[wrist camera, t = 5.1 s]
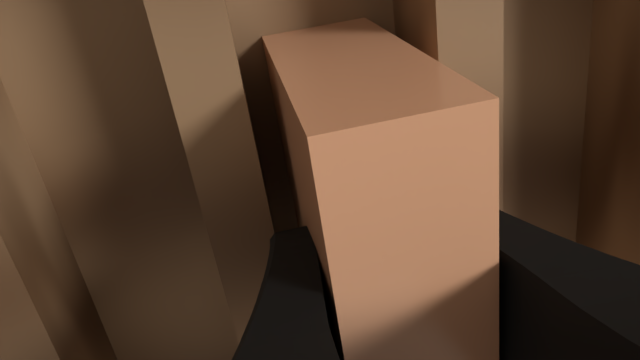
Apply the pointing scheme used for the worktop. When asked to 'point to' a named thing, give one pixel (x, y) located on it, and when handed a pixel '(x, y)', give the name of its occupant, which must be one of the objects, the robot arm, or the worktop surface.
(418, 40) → the rack
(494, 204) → the tile
